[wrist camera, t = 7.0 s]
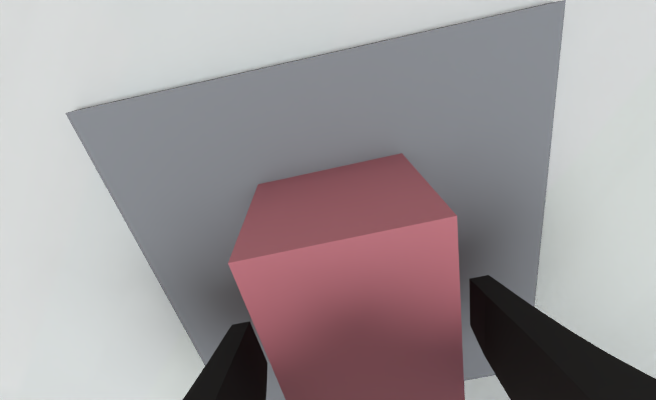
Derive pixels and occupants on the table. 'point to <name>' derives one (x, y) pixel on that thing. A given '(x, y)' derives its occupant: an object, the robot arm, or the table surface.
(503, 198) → the desk mat
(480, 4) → the table surface
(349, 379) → the pink and white block
